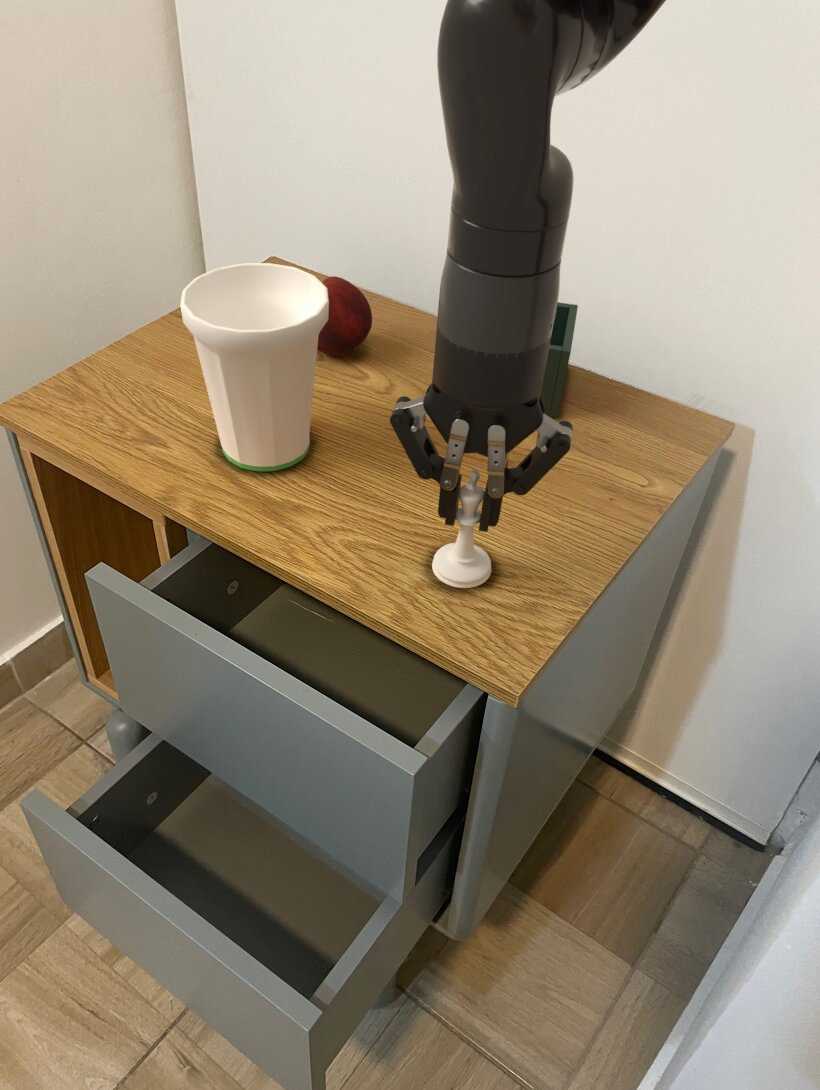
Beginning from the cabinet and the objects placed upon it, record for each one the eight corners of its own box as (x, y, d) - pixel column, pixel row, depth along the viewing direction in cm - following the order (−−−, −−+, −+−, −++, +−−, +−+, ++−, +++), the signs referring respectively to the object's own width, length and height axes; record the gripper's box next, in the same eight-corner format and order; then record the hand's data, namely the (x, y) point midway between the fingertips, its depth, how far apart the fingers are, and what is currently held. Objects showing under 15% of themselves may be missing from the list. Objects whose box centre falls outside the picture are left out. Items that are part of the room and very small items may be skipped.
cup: (176, 437, 85) (152, 287, 74) (282, 395, 90) (274, 249, 80) (247, 503, 78) (232, 348, 67) (357, 453, 84) (359, 302, 73)
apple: (326, 326, 101) (326, 258, 95) (384, 346, 98) (387, 277, 92) (289, 354, 96) (286, 284, 90) (349, 375, 93) (349, 305, 88)
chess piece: (422, 575, 72) (431, 479, 65) (446, 540, 75) (457, 444, 68) (477, 596, 71) (492, 499, 64) (500, 559, 74) (517, 463, 67)
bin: (564, 369, 95) (578, 304, 90) (557, 418, 89) (570, 351, 83) (477, 356, 97) (485, 292, 91) (463, 403, 90) (470, 337, 85)
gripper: (378, 333, 56) (372, 538, 68) (599, 364, 53) (551, 569, 66) (403, 280, 61) (393, 480, 73) (605, 307, 59) (559, 507, 71)
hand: (468, 521), depth 69 cm, fingers closed on chess piece
